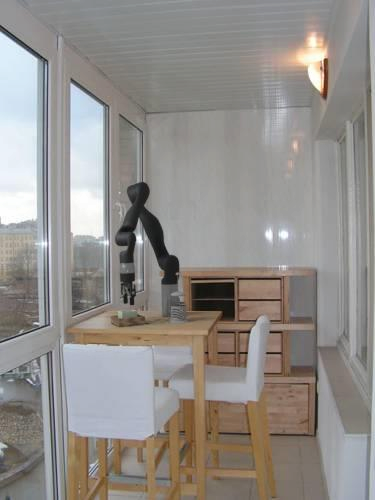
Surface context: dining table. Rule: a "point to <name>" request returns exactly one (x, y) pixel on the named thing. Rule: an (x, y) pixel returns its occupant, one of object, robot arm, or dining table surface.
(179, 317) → the french press
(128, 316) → the small crate
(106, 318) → the dining table surface
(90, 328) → the dining table surface
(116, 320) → the brown flat block
